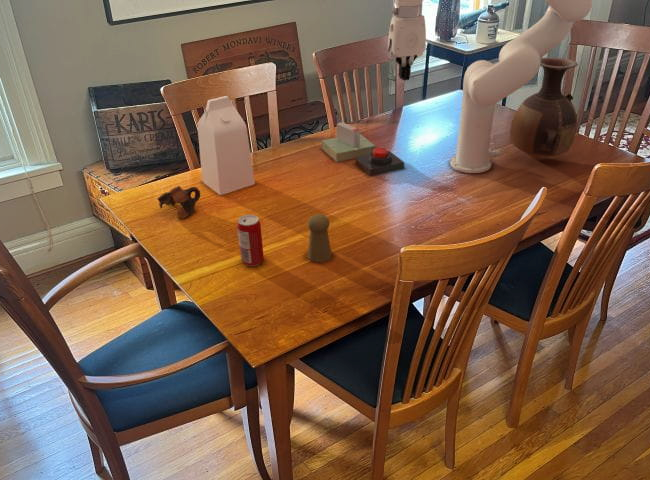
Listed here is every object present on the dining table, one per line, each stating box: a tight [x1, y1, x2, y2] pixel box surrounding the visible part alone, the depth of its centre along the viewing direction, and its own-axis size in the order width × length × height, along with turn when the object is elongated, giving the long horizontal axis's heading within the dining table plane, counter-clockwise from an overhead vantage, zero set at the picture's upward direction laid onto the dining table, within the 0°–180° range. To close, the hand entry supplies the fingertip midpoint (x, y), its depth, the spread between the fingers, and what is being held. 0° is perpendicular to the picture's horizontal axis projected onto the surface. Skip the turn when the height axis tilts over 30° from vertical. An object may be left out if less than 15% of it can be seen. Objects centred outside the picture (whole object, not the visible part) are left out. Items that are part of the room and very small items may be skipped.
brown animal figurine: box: [157, 185, 201, 220], centre depth 175 cm, size 12×10×8 cm
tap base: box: [321, 133, 376, 163], centre depth 205 cm, size 14×13×3 cm
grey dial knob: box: [336, 121, 361, 148], centre depth 202 cm, size 9×2×6 cm, turn 38°
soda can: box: [236, 214, 265, 267], centre depth 150 cm, size 6×6×12 cm
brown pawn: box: [307, 213, 332, 263], centre depth 151 cm, size 6×6×11 cm
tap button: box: [373, 147, 388, 158], centre depth 193 cm, size 4×4×2 cm
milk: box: [197, 95, 256, 196], centre depth 181 cm, size 12×12×26 cm
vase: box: [509, 56, 579, 160], centre depth 189 cm, size 23×19×30 cm
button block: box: [355, 150, 405, 177], centre depth 195 cm, size 12×10×4 cm
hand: (404, 78), depth 180 cm, fingers closed
